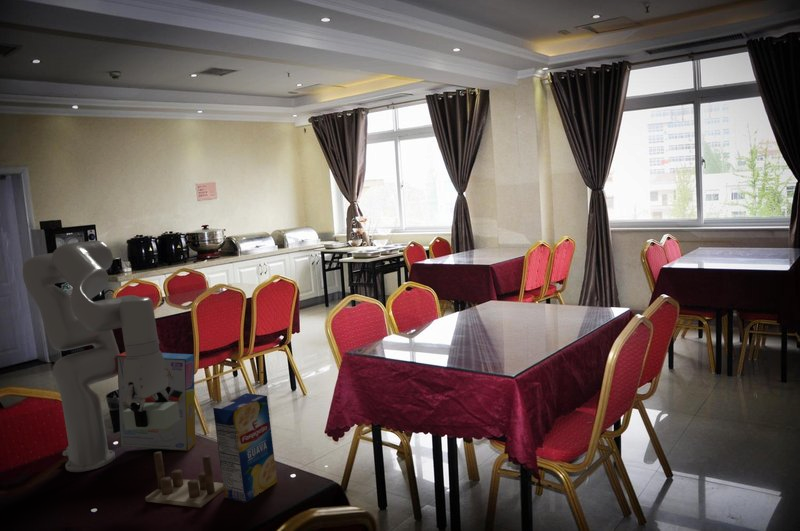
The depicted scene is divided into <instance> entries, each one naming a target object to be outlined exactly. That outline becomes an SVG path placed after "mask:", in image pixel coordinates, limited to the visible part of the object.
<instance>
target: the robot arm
mask: <svg viewBox="0 0 800 531" xmlns="http://www.w3.org/2000/svg"><path fill="white" fill-rule="evenodd" d="M113 258H114V257H113V252H112V249H111V248H110V247H109V246H108V244H107V243H105V242H103V241H101V240H87V241H81V242H71V243H65V244H62V245H60V246H58V247H57V248H55V249H54V251H53V252H50V253H49V252H48V253H43V254H39V255H36V256H35V255H34V256H32V257H30V258H28V259H26V261H25V262H24V263H23V266H22V279H23V283H24V284H25V287H26V290H27V291H28V293H29V294H30V296H31V298H32V299H33V300H34V302H35V303H36V306H37V307H38V310H39V312H40V315H41V320H42V321H43V324H44V328H45V332H46V334H47V337H48V341H49V343H50V345H51V347H52V348H53V349H54V350H55V351H58V352H65V351H69V350H74V349H79V348H82V347H87V346H93V348H91V349H88V350H87V349H86V350H82V351H78V352H73V353H71V354H67V355H65V356H62V357H60V358H59V359H57V360H56V361H55V362H54V364H53V367H52V372H53V377H54V381H55V383H56V386H57V389H58V391H59V395H60V400H61V406H62V411H63V412H62V413H63V417H64V418H63V419H64V422H65V423H64V424H65V430H66V435H67V442H68V446H66V448H65V450H63V451H62V456H64V457H67V458H68V460H67V461H66V463H65V470H66V471H68V472H71V473H82V472H87V471H93V470H96V469H99V468H102V467H104V466H106V465H108V464H110V463H112V462H113V461H114V460H115V459H116V454H115V453H116V452H115V451H113V450H112V449H109V447H108V440H107V432H106V426H105V419H104V412H103V407H102V406H103V405H102V400H101V397H100V395H98V393H96V392H95V391H94V390H93V389H91V387H90V386H91V385H93V384H96V383H100V382H104V381H107V380H109V379H113V378H116V377H118V363H117V355H119V354H121V353H120V350H119V346H118V344H117V341H116V338H115V335H114V334H115V333H114V331H113V330H116V329H121V331H122V338H123V344H124V350H125V351H124V352H126V359H124V364H123V379H124V390H125V395H124V397H123V399H122V403H123V404H125V405H126V406H127V407H128V408H129V409H131V411H134V417H135V424H136V427H147V426H148V421H147V414H146V410H143V409H144V404H145V398H148V397H150V396H152V395H154V394H155V395H156V397H157V399H158V400H156V402H168V400H167V399H169V392H170V390H171V388H170V387H171V386H172V383H173V379H171V378H170V377H169V376H167V371H166V366H165V362H164V359H163V356H162V353H163V352H162V351H161V350H160V340H159V336H158V331H157V322H156V317H155V310H154V304H153V300H152V299H151V298H150V297H147V296H137V295H134V294H129V295H122V296H118V297H111V298H105V299H100V300H95V301H92V299H94V298H95V297H96V296H98V295H99V294H100V293H102V292H103V291H104V290H105V289H106V287H107V285H108V284H109V273H108V272H107V270H109V269H110V268H111V266H112V265H113V262H114V260H113ZM61 283H68V284H69V285H70V286H71V287H72V288H73V289H72V291H71V294H69V293H68V292H66V291H65V290H64V289H62V288H61V287H59V286H57V285H55V284H61ZM160 392H161V393H160ZM131 399H132V400H131ZM138 401H139V405H138V404H137V402H138Z"/></svg>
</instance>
